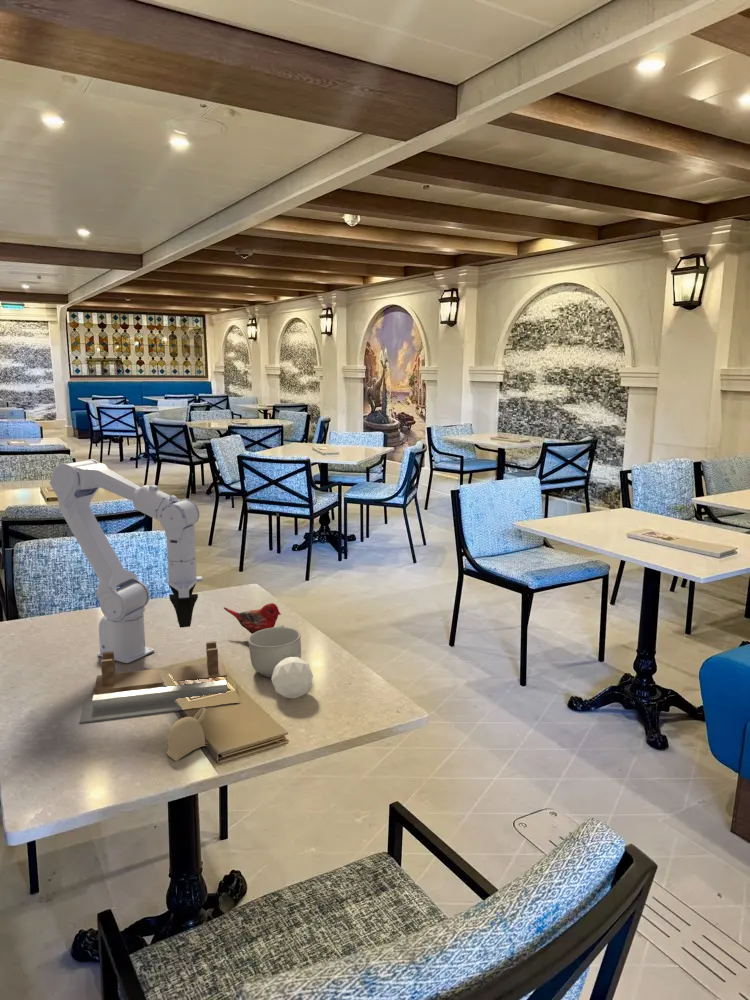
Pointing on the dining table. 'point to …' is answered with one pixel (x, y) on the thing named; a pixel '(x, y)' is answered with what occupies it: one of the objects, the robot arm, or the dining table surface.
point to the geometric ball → (292, 677)
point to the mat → (124, 711)
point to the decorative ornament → (186, 736)
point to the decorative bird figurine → (257, 618)
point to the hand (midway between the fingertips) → (184, 620)
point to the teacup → (273, 647)
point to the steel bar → (156, 695)
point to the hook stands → (155, 674)
